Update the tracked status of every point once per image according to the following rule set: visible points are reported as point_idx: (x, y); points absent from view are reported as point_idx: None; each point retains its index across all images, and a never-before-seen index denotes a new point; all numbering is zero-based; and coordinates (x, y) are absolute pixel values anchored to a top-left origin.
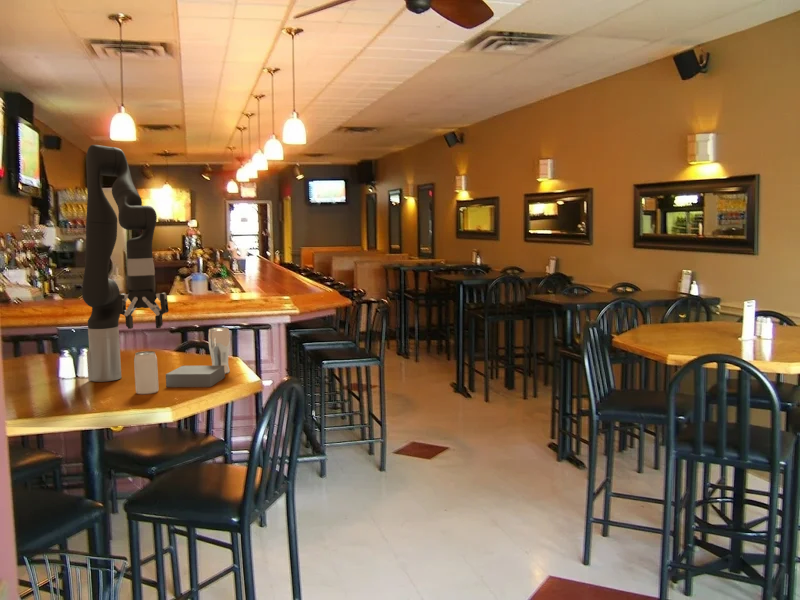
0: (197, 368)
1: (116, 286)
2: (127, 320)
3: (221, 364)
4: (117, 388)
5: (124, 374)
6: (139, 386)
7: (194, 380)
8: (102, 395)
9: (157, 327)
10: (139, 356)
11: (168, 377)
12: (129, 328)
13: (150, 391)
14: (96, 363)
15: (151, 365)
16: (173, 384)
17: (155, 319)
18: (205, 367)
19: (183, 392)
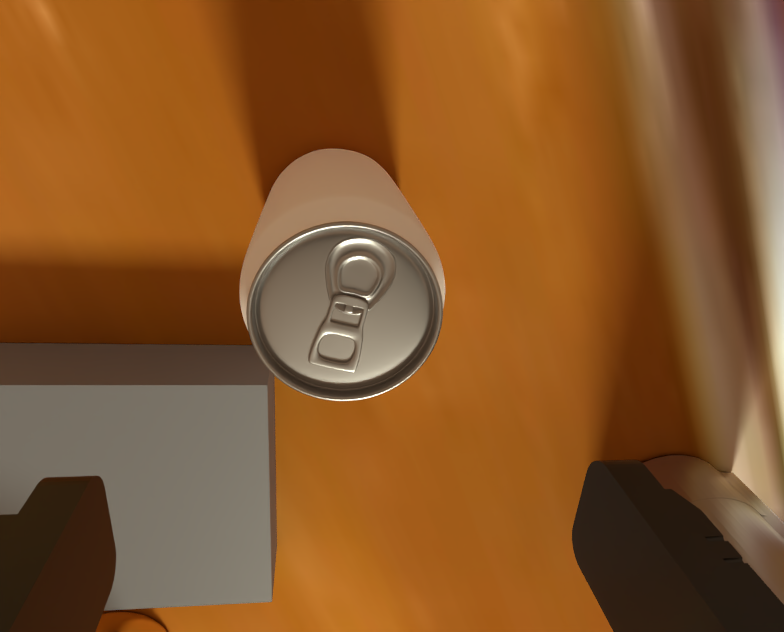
0: (133, 540)
1: None
2: (725, 568)
3: None
4: (548, 322)
5: None
6: (360, 158)
7: (74, 363)
8: (586, 145)
9: (59, 478)
10: (370, 220)
11: (250, 373)
12: (607, 461)
13: (291, 164)
14: (752, 525)
15: (264, 217)
16: (225, 351)
17: (13, 626)
18: None
19: (86, 199)
